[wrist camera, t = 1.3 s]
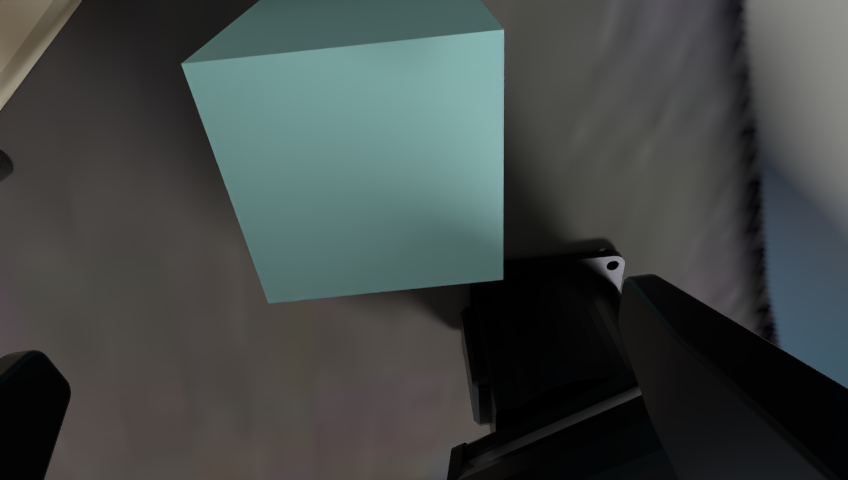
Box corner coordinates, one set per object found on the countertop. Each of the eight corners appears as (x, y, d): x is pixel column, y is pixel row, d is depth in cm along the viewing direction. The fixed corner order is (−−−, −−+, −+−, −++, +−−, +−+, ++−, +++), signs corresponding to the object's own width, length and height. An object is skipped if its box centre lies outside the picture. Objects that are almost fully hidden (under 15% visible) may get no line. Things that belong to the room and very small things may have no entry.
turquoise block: (461, -24, 15) (503, 29, 9) (468, 158, 18) (503, 279, 13) (262, -3, 15) (180, 63, 9) (307, 175, 18) (268, 303, 13)
